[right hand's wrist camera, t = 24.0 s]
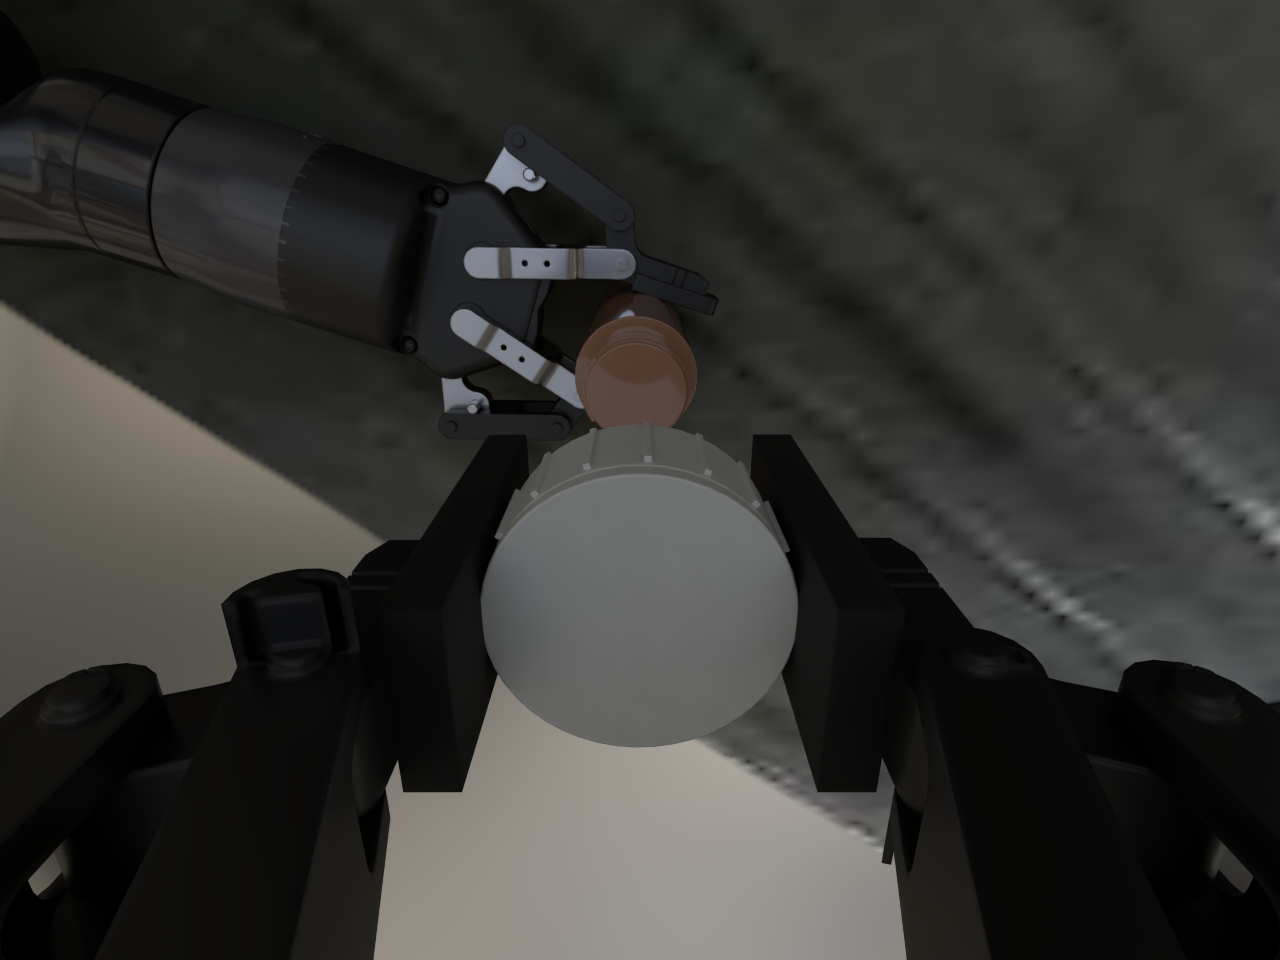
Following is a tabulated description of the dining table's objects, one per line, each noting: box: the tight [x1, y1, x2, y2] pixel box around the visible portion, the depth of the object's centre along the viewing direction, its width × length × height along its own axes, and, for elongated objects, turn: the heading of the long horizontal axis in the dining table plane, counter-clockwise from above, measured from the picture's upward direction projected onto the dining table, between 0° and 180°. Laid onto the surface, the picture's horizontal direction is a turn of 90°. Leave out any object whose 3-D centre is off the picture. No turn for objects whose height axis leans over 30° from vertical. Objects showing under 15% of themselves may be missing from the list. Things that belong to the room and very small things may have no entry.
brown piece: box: [575, 280, 697, 429], centre depth 29 cm, size 4×4×16 cm
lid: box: [481, 421, 798, 747], centre depth 11 cm, size 5×5×2 cm
